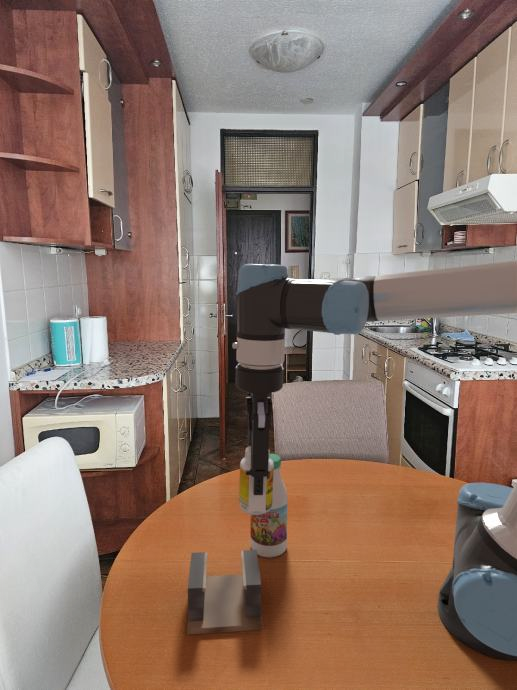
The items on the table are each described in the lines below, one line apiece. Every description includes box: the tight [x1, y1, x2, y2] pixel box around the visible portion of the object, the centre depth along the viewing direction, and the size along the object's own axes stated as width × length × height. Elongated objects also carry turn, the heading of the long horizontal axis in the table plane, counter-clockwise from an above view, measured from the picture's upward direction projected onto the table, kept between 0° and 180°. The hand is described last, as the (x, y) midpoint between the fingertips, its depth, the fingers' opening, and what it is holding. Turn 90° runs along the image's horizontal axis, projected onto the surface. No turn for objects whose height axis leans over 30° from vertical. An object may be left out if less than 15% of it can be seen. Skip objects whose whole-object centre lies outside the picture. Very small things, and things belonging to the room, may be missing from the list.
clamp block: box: [186, 549, 263, 635], centre depth 75 cm, size 12×12×7 cm
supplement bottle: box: [238, 446, 274, 515], centre depth 71 cm, size 6×6×10 cm
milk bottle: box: [250, 453, 289, 558], centre depth 90 cm, size 8×8×20 cm
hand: (255, 499), depth 72 cm, fingers closed on supplement bottle, 6 cm apart
